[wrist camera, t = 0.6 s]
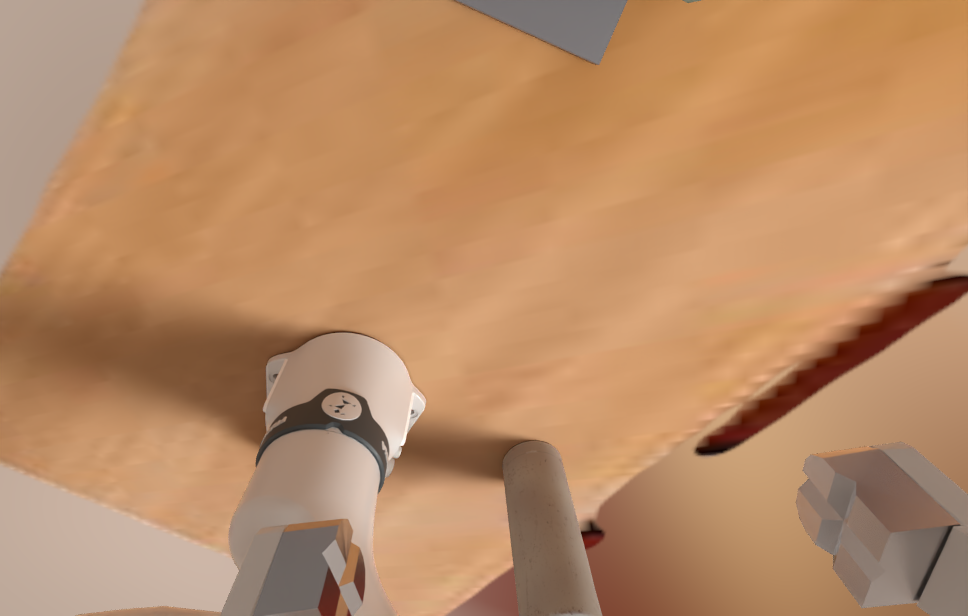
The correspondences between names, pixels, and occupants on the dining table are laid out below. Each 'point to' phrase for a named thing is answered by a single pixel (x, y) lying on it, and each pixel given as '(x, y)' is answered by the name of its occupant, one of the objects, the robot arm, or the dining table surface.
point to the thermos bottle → (546, 535)
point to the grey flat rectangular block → (559, 22)
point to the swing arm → (690, 1)
